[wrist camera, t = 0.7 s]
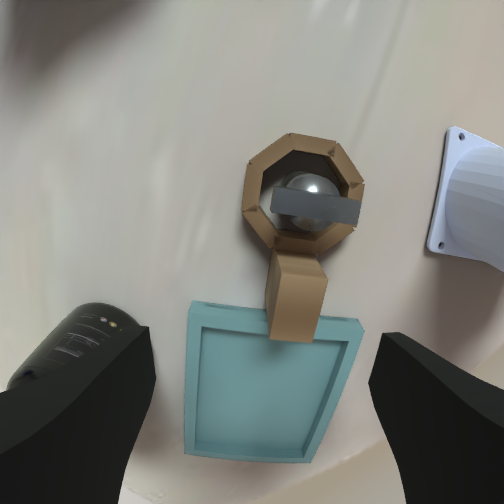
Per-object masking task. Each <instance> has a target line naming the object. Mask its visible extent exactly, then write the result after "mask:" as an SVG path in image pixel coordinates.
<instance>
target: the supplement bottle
mask: <svg viewBox="0 0 504 504" xmlns="http://www.w3.org/2000/svg"><path fill="white" fill-rule="evenodd" d="M129 325H137V326H140V325H139V324H138V323H137V322H136V321H135V320H134V319H133V318H132V317H131V316H130V315H128V314H127V313H126V312H124V311H122V310H121V309H119V308H117V307H114V306H112V305H109V304H104V303H87V304H84V305H81V306H79V307H77V308H76V309H74V310H73V311H72V312H71V313H70V314H69V315H68V316H67V317H66V318H65V319H64V320H63V321H62V322H61V323H60V324H59V325H58V326H57V327H56V328H55V329H54V330H53V331H52V332H51V333H50V334H49V335H48V336H47V337H46V338H45V340H44V341H43V342H42V343H41V344H40V345H39V346H38V347H37V348H36V349H35V350H34V351H33V353H32V354H31V355H30V356H29V357H28V358H27V359H26V360H25V361H24V363H23V364H22V365H21V366H20V367H19V368H18V369H17V371H16V372H15V373H14V374H13V376H12V377H11V378H10V380H9V382H8V385H7V389H6V391H7V390H10V389H13V388H16V387H19V386H22V385H25V384H27V383H30V382H32V381H34V380H36V379H39V378H41V377H43V376H45V375H47V374H50V373H52V372H54V371H55V370H57V369H59V368H61V367H63V366H65V365H66V364H68V363H70V362H71V361H73V360H75V359H77V358H78V357H80V356H82V355H83V354H85V353H87V352H88V351H90V350H91V349H93V348H94V347H96V346H98V345H99V344H101V343H102V342H104V341H105V340H107V339H108V338H110V337H111V336H113V335H114V334H116V333H117V332H119V331H121V330H122V329H124V328H126V327H127V326H129Z"/></svg>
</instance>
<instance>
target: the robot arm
mask: <svg viewBox="0 0 504 504" xmlns="http://www.w3.org/2000/svg"><path fill="white" fill-rule="evenodd" d="M459 134H461V140H460V139H459ZM440 242H442V245H441V247H440V248H438V245H439V243H440ZM427 248H428V249H429V250H430V251H432V252H435V253H441V254H446V255H452V256H457V257H463V258H468V259H474V260H479V261H485V262H486V263H488V264H490V265H492V266H493V267H495V268H497V269H498V270H500V271H502V272H503V273H504V148H502V147H500V146H498V145H496V144H494V143H492V142H490V141H487V140H485V139H483V138H481V137H479V136H477V135H474V134H472V133H470V132H467V131H465V130H463V129H460V128H458V127H454V126H453V127H449V128H448V130H447V136H446V144H445V151H444V158H443V165H442V171H441V177H440V183H439V189H438V194H437V199H436V204H435V209H434V214H433V218H432V223H431V227H430V231H429V235H428V239H427ZM155 381H156V374H155V367H154V361H153V354H152V347H151V340H150V332H149V327H147V326H137V325H129V326H127V327H126V328H124V329H122V330H121V331H119V332H117V333H116V334H114V335H113V336H111V337H110V338H108V339H107V340H105V341H104V342H102V343H101V344H99V345H98V346H96V347H94V348H93V349H91V350H90V351H88V352H87V353H85V354H83V355H82V356H80V357H78V358H77V359H75V360H73V361H71V362H70V363H68V364H66V365H65V366H63V367H61V368H59V369H57V370H55V371H54V372H52V373H50V374H47V375H45V376H43V377H41V378H39V379H36V380H34V381H32V382H30V383H27V384H25V385H22V386H19V387H16V388H13V389H10V390H7V391H4V392H1V393H0V504H118V500H119V495H120V490H121V486H122V481H123V477H124V473H125V469H126V466H127V463H128V459H129V457H130V454H131V451H132V449H133V446H134V444H135V441H136V439H137V436H138V434H139V431H140V429H141V426H142V424H143V421H144V418H145V416H146V413H147V411H148V408H149V405H150V402H151V398H152V394H153V390H154V386H155ZM368 384H369V388H370V392H371V396H372V400H373V404H374V408H375V410H376V413H377V415H378V418H379V420H380V423H381V425H382V428H383V430H384V432H385V435H386V437H387V440H388V442H389V444H390V447H391V449H392V452H393V454H394V457H395V459H396V462H397V465H398V468H399V472H400V476H401V480H402V484H403V489H404V493H405V499H406V504H504V390H503V389H500V388H498V387H496V386H494V385H491V384H489V383H487V382H484V381H482V380H480V379H478V378H476V377H475V376H473V375H471V374H469V373H467V372H465V371H464V370H462V369H460V368H458V367H457V366H455V365H453V364H452V363H450V362H448V361H447V360H445V359H443V358H442V357H440V356H439V355H437V354H435V353H434V352H432V351H431V350H429V349H427V348H426V347H424V346H423V345H421V344H419V343H418V342H416V341H415V340H413V339H411V338H409V337H408V336H406V335H404V334H402V333H400V332H393V333H382V336H381V340H380V344H379V348H378V351H377V355H376V358H375V362H374V365H373V369H372V372H371V375H370V379H369V382H368Z"/></svg>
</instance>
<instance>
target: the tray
mask: <svg viewBox="0 0 504 504" xmlns="http://www.w3.org/2000/svg"><path fill="white" fill-rule="evenodd" d="M364 331H365V330H364V329H363V327H362V325H361V324H360V322H359V320H358V319H353V318H340V317H329V316H319V319H318V323H317V327H316V331H315V334H314V338H313V342H312V343H305V342H293V341H282V340H272V339H269V331H268V321H267V310H261V309H253V308H244V307H236V306H229V305H221V304H214V303H206V302H199V301H192V304H191V306H190V309H189V312H188V327H187V348H186V374H185V421H184V454H189V455H196V456H203V457H211V458H219V459H228V460H239V461H252V462H269V463H311V461H312V459H313V457H314V455H315V453H316V451H317V449H318V447H319V444H320V442H321V440H322V438H323V436H324V434H325V431H326V429H327V427H328V425H329V422H330V420H331V418H332V415H333V413H334V411H335V408H336V406H337V404H338V401H339V399H340V396H341V394H342V391H343V389H344V386H345V384H346V381H347V379H348V376H349V373H350V371H351V368H352V365H353V363H354V360H355V357H356V354H357V352H358V349H359V346H360V343H361V340H362V337H363V334H364Z"/></svg>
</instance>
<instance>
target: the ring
mask: <svg viewBox="0 0 504 504" xmlns="http://www.w3.org/2000/svg"><path fill="white" fill-rule="evenodd" d="M292 150H293V151H299V152H305V153H310V154H316V155H321V156H323V157H324V159H325V160H326V162H327V163H328V164H329V166H330V167H331V169H332V170H333V172H334V173H335V175H336V176H337V178H338V179H339V181H340V182H341V186H340V192H339V193H340V196H341V197H346V198H352V199H356V200H358V201H360V202H362V197H363V191H364V186H365V184H362V182H363V181H364V180H363V178H362V177H361V175H360V174H359V172H358V171H357V169H356V168H355V166H354V164H353V163H352V161H351V160H350V158H349V157H348V155H347V154H346V152H345V151H344V149H343V148H342V147H341V145H340V144H339V143H337V144H336V141H332V140H327V139H322V138H317V137H312V136H307V135H301V134H295V133H289V134H288V133H287V134H286V135H284V136H283V137H281V138H280V139H278V140H277V141H275V142H274V143H273V144H271V145H270V146H269V147H267V148H266V149H264V150H263V151H262V152H260V153H259V154H258V155H256V156H255V157H253V158H252V159H251V160H249V161H250V163H251V164H250V163H248V164H247V171H246V178H245V185H244V192H243V200H242V207H241V210H242V214H243V216H244V217H245V218H246V219H247V221H248V222H249V223H250V225H251V226H252V227H253V228H254V230H255V231H256V232H257V234H258V235H259V236H260V237H261V239H262V240H263V241H264V243H265V244H266V245H267V247H268V248H269V249H271V248H272V253H271V259H270V265H269V271H268V277H267V283H266V289H265V300H266V310H267V321H268V331H269V339H272V340H282V341H293V342H305V343H312V342H313V338H314V334H315V331H316V327H317V323H318V319H319V315H320V311H321V307H322V303H323V299H324V295H325V291H326V287H327V283H328V278H327V276H326V274H325V273H324V271H323V269H322V268H321V266H320V264H319V263H318V261H317V259H316V258H315V257H316V254H318V255H319V256H320V255H321V254H323V253H324V252H325V251H327V250H328V249H330V248H331V247H332V246H334V245H335V244H336V243H338V242H339V241H341V240H342V239H343V238H345V237H346V236H348V235H349V234H350V233H352V232H353V231H354V229H353V227H357V226H356V225H350V224H344V223H338V222H333V223H332V224H331V225H330V226H329V227H327V228H325V229H323V230H320V231H312V232H311V233H309V234H308V233H301V232H294V231H287V230H280V229H277V228H276V227H275V226H274V224H273V223H272V222H271V220H270V219H269V218H268V216H267V215H266V214H265V212H264V211H263V210H262V209H261V207H260V206H259V205H258V203H259V197H260V190H261V183H262V176H263V171H264V170H266V169H267V168H268V167H270V166H271V165H272V164H274V163H275V162H277V161H278V160H279V159H281V158H282V157H284V156H285V155H286V154H288V153H289V152H290V151H292Z"/></svg>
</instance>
